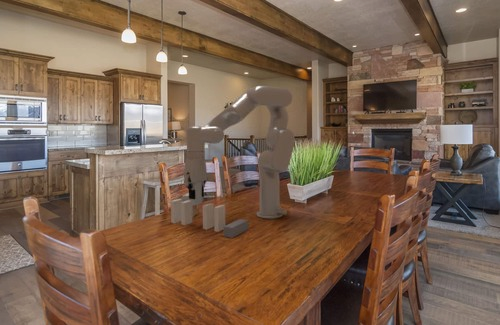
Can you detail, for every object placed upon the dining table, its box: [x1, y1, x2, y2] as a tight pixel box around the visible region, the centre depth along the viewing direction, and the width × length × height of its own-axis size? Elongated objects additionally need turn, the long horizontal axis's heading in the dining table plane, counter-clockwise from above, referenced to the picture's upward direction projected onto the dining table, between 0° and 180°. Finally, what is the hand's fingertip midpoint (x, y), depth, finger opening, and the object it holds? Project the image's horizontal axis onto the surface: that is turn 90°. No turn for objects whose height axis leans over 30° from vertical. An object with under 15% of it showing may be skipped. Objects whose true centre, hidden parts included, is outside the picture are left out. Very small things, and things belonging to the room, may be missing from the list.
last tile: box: [213, 204, 226, 233], centre depth 128 cm, size 2×5×10 cm, turn 150°
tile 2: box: [180, 200, 193, 226], centre depth 137 cm, size 2×5×10 cm, turn 150°
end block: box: [223, 218, 249, 239], centre depth 124 cm, size 4×12×4 cm, turn 150°
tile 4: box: [202, 202, 215, 231], centre depth 131 cm, size 2×5×10 cm, turn 150°
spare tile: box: [191, 182, 203, 205], centre depth 133 cm, size 2×5×10 cm, turn 150°
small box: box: [181, 192, 200, 218], centre depth 151 cm, size 8×6×10 cm
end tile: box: [170, 198, 182, 224], centre depth 140 cm, size 2×5×10 cm, turn 150°
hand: (196, 197), depth 133 cm, fingers closed on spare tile, 4 cm apart
